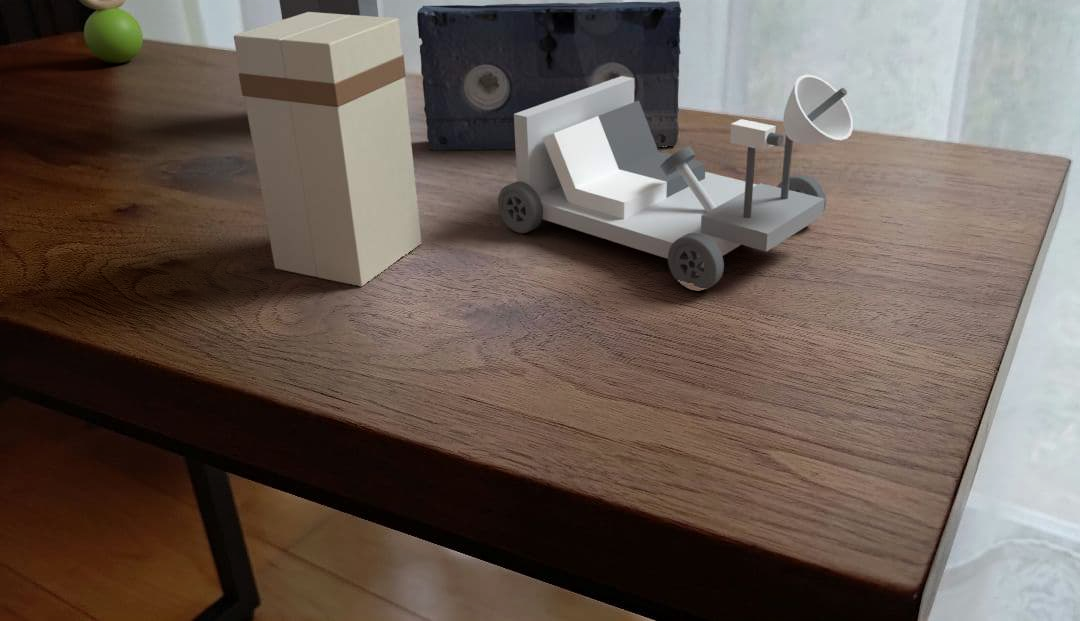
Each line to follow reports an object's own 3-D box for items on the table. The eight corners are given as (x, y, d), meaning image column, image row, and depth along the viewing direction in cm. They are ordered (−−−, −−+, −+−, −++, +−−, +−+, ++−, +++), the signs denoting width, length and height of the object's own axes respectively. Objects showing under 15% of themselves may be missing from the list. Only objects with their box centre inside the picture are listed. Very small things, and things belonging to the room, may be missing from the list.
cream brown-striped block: (273, 269, 56) (231, 35, 50) (338, 229, 61) (307, 11, 55) (361, 287, 53) (329, 44, 47) (423, 244, 58) (400, 17, 52)
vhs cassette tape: (677, 137, 74) (681, -1, 69) (678, 150, 71) (682, 7, 67) (434, 137, 76) (422, 3, 71) (426, 150, 73) (413, 12, 69)
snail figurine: (71, 67, 100) (39, -59, 95) (128, 53, 105) (100, -68, 99) (101, 74, 97) (70, -56, 92) (158, 59, 102) (132, -65, 96)
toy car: (888, 67, 52) (773, 121, 45) (866, 238, 57) (759, 314, 49) (617, 26, 63) (488, 64, 55) (617, 173, 68) (498, 227, 60)
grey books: (299, 130, 79) (270, -57, 72) (318, 107, 84) (293, -68, 78) (373, 128, 78) (351, -59, 72) (388, 106, 84) (369, -70, 77)
